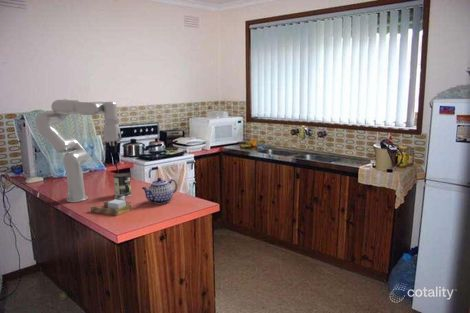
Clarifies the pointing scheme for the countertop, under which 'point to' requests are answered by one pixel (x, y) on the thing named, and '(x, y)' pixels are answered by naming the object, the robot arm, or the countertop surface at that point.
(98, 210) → the bay
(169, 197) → the teapot
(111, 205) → the white rectangular block
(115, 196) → the winch
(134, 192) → the countertop surface
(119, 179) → the coffee can
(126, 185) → the crank
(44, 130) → the robot arm
